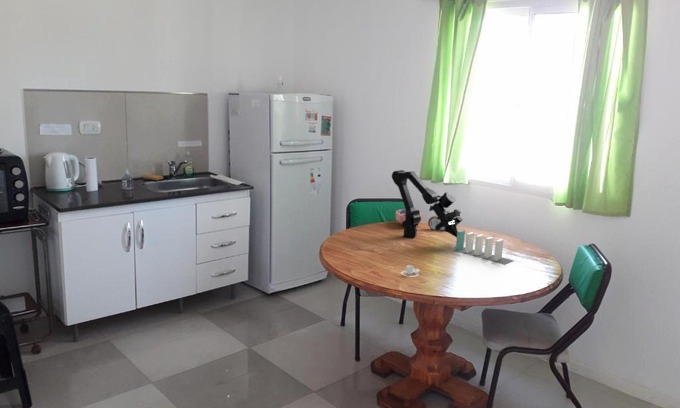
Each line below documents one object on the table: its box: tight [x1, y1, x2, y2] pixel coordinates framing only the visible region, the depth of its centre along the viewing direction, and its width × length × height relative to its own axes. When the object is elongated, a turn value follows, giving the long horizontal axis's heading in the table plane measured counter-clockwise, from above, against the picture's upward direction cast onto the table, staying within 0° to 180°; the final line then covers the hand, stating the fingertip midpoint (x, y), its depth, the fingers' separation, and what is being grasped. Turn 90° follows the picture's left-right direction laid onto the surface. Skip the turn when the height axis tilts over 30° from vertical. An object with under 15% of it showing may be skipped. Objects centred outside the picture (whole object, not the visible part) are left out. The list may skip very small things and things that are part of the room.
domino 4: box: [493, 238, 504, 261], centre depth 261 cm, size 2×5×10 cm, turn 136°
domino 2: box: [474, 234, 485, 255], centre depth 269 cm, size 2×5×10 cm, turn 136°
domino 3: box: [483, 236, 494, 258], centre depth 265 cm, size 2×5×10 cm, turn 135°
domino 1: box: [464, 231, 475, 253], centre depth 272 cm, size 2×5×10 cm, turn 136°
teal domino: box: [455, 229, 466, 251], centre depth 276 cm, size 2×5×10 cm, turn 136°
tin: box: [427, 215, 445, 232], centre depth 316 cm, size 15×3×8 cm, turn 84°
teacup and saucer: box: [400, 264, 420, 278], centre depth 239 cm, size 9×8×4 cm
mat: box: [447, 245, 515, 266], centre depth 269 cm, size 33×10×1 cm, turn 46°
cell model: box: [395, 208, 424, 225], centre depth 323 cm, size 17×20×11 cm
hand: (457, 237), depth 277 cm, fingers closed
